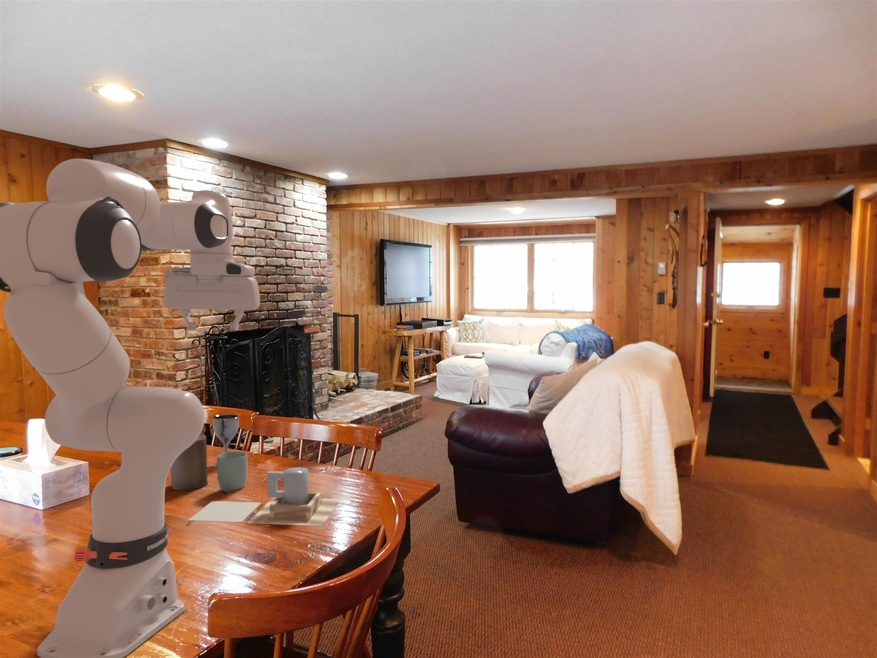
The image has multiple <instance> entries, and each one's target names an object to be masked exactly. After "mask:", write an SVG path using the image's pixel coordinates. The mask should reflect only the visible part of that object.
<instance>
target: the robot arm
mask: <svg viewBox="0 0 877 658" xmlns="http://www.w3.org/2000/svg"><path fill="white" fill-rule="evenodd" d="M49 173H50V174H49V175H48V178H47V180H46V188H45V190H46V197H47V199H48V201H26V202H17V203H14V202H11V201H5V202H0V290H1V291H3V292H6V293H9V295H8V297H7V298H6V300H5V302H4V305H3V313H2V314H3V318H4V322H5V323H6V326H7V329H8V330H9V333H10V334H11V336H12V338H13V339H14V341H15V343H16V345H17V346H18V349H20V351H21V352H22V354H23V355H24V357H25V358H26V359H27V361H28V362H29V363H30V364H31V366H32V367H33V368H34V369H35V371H36V372H37V373H38V374H39V375H40V376H41V377H42V379H43V380H44V381H45V382H46V383H47V385H48V386H49V388H50V389H51V390H52V392H53V393H54V394H55V396H54V397H53V398H52V399H51V401H50V403H49V404H48V406H47V409H46V412H45V416H44V424H45V425H44V426H45V429H46V433H47V435H48V436H49V439H51V440H52V442H54V443H55V444H57V445H60V446H64V447H66V448H67V447H68V448H72V449H75V450H80V451H88V452H90V451H91V452H92V451H93V452H121V464H120V466H119V469H117V470H116V471H114V472H112V473H111V472H110V474H108V475H106V476H105V477H103V478H102V479H101V480H100V481H99V482H98V483H97V484H96V485H95V487H94V489H93V491H92V493H91V497H90V498H91V500H90V501H91V505H90V506H91V534H90V536H89V538H88V543H87V546H86V548H81V547H80V548H77V549H76V550H75V553H74V556H73V558H74V559H73V560H74V561H75V562H79V563H80V562H84V565H83V567H82V569H81V570H80V572H79V574H78V575H77V576H76V578H75V580H74V582H73V584H71V586H70V588H69V590H68V591H67V593H66V595H65V596H64V598H63V600H62V601H61V603H60V604H59V607H58V608H57V610H56V617H55V618H56V619H55V627H54V628H53V629H52V631H51V632H50V633H49V634H47V636H46V638H44V639H43V641H42V642H41V643H40V644H39V645H38V647H37V648H36V655H37V656H38V657H39V658H125V657H127V655H129V654H130V653H132V652H133V651H134V650H135V649H137V648H138V647H139V646H141V645H142V644H143V643H144V642H146V641H147V640H148V639H149V638H151V637H152V636H154V635H155V634H157V633H158V632H159V631H160V630H161V629H163V628H164V627H166V626H167V625H168V624H169V623H171V622H172V621H173V620H175V619H176V618H177V617H178V616H180V615H181V614H182V613H183V612H184V611H186V607H185V603H184V601H182V600H180V599H179V594H178V588H177V586H178V585H177V576H176V567H175V563H174V561H173V560H172V558H171V556H170V555H169V553H168V550H167V547H168V542H169V540H168V539H169V530H168V524H167V522H166V521H165V499H166V498H165V497H166V484H167V480H168V477H169V474H170V472H171V467H172V465H173V463H174V462H175V460H176V459H177V458H178V456H179V455H180V454H181V453H182V452H183V451H185V450H186V449H187V448H189V447H190V446H191V445H192V444H193V443H194V442H195V441H196V440H197V439H198V437H199V436H200V434H202V431H203V429H204V425H205V411H204V407H203V404H202V402H201V401H200V399H199V398H198V396H196V395H195V394H194V393H192V392H191V391H187V390H183V389H176V388H172V387H169V386H168V387H167V386H130V385H124V384H125V383H126V382H127V380H128V377H129V375H130V371H131V370H130V369H131V365H130V361H131V360H130V357H129V354H128V353H127V352H126V351H125V348H124V347H123V346H122V344H121V343H120V340H118V337H116V335H115V333H114V332H113V330H112V329H111V328H110V326H109V324H108V323H107V321H106V320H105V319H104V317H103V316H102V315H101V313H100V312H99V310H98V309H96V307H95V306H94V305H93V304H92V303H91V302H90V301H89V299H88V298H87V296H86V293H85V288H84V282H92V281H94V282H95V281H96V282H100V283H105V282H112V281H118V280H121V279H124V278H127V277H129V276H130V275H131V274H132V273H133V271H134V269H136V267H137V266H138V264H139V262H140V260H141V255H142V251H143V252H144V251H145V252H147V251H149V252H150V251H151V252H152V251H159V250H160V251H161V250H162V251H163V250H164V251H165V250H166V251H169V250H171V251H173V250H176V251H177V250H178V251H181V250H182V251H187V250H189V263H190V265H189V266H185V267H179V266H172V267H171V268H170V269H167V270H166V272H165V273H164V284H165V285H164V286H165V288H164V294H163V295H164V296H163V304H164V306H165V307H166V308H167V310H180V314H181V316H182V318H183V320H184V322H185V323H186V331H196V330H197V321H193V320H192V318H191V316H190V315H191V314H192V310H220V311H221V310H222V311H223V310H225V311H227V310H230V311H231V310H232V311H233V313H234V315H235V319H234V320H233V321H232V322H229V331H235V332H237V331H239V330H240V329H239V328H240V327H239V325H240V324H239V323H240V322H241V320H242V318H243V317H244V311H254V310H258V308H259V307H260V306H261V298H260V297H261V295H260V288H259V284H258V281H257V279H256V278H255V277H254V276H255V274H256V271H255V267H254V266H251V265H248V264H245V263H242V262H240V261H235V260H234V253H233V249H232V239H233V234H234V232H233V217H232V215H233V214H232V209H231V203H230V200H229V198H228V196H226V195H225V194H224V193H221V192H217V191H213V190H209V189H208V190H207V189H206V190H205V189H204V190H198V191H195V192H193V194H192V195H191V200H188V201H174V202H173V201H167V202H166V201H160V197H159V193H158V191H157V190H156V188H155V187H154V186H153V184H152V183H151V182H149V181H148V180H147V179H146V178H144V177H142V176H141V175H139V174H138V173H135V172H134V171H131V170H129V169H126V168H123V167H121V166H118V165H115V164H112V163H109V162H105V161H100V160H96V159H95V160H94V159H88V158H87V159H86V158H70V159H67V160H65V161H62V162H60V163H59V164H57V165H56V166H55V167H54V168H53V169H52V170H51V171H50V172H49Z"/></svg>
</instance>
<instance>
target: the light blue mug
mask: <svg viewBox="0 0 877 658" xmlns="http://www.w3.org/2000/svg"><path fill="white" fill-rule="evenodd" d="M309 472H310V471H309V469H308V468H307V467H302V466H298V467H289V468H286V469H285V470H283V471H281V470H280V471H279V470H278V471H277V470H276V471H275V470H269V471H268V472H267V474H266V475H267V481H266V482H267V498H273V497H284V504H298V505H308V504H309V492H310V490H309V488H310V487H309V485H310V484H309V483H310V481H309V479H310V478H309ZM278 479H283V490H282V489H279V488H278V484H279V483H278V482H279V481H278Z"/></svg>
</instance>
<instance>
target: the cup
mask: <svg viewBox="0 0 877 658" xmlns="http://www.w3.org/2000/svg"><path fill="white" fill-rule="evenodd" d="M216 461H217V465H216V471H217V472H216V473H217V474H216V475H217V482H218V486H219V488H220V490H221V491H223V492H225V493H230V492H232V491H237V490H241V489H243V488H244V487H245V486H246V484H247V480H248V453H247V452H246V451H239V450H231V451H228V452H225V451H223V452H222V453H219V454H218V455H217V457H216Z"/></svg>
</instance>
